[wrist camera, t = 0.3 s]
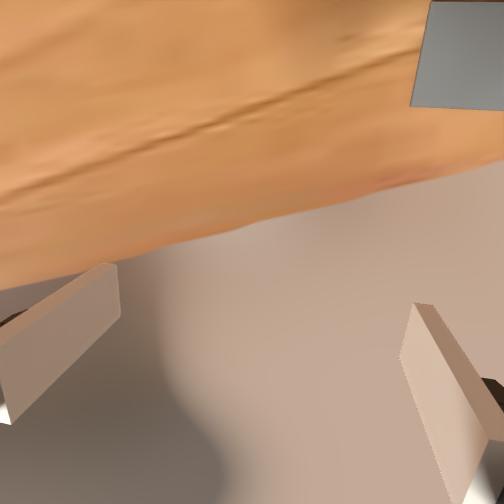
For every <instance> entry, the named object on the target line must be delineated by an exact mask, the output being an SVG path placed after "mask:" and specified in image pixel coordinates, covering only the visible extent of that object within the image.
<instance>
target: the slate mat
mask: <svg viewBox="0 0 504 504" xmlns="http://www.w3.org/2000/svg"><path fill="white" fill-rule="evenodd" d="M410 107H430V108H451V109H472V110H493V111H504V2H431V3H430V6H429V11H428V16H427V21H426V26H425V31H424V36H423V42H422V47H421V52H420V57H419V62H418V67H417V72H416V77H415V82H414V87H413V92H412V97H411V102H410Z"/></svg>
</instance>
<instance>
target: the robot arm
mask: <svg viewBox="0 0 504 504" xmlns="http://www.w3.org/2000/svg"><path fill="white" fill-rule="evenodd" d="M120 316H121V309H120V298H119V286H118V275H117V265H116V264H111V263H104V262H101V263H99V264H98V265H96V266H95V267H93V268H91V269H90V270H88V271H87V272H85V273H84V274H82V275H81V276H79V277H78V278H76V279H74V280H73V281H71V282H70V283H68V284H67V285H65V286H64V287H62V288H61V289H59V290H57V291H56V292H54V293H53V294H51V295H50V296H48V297H47V298H45V299H44V300H42V301H41V302H39V303H37V304H36V305H34V306H33V307H31V308H30V309H26V310H24V311H21V312H18V313H16V314H13V315H11V316H10V317H8V318H7V319H5V320H4V321H2V322H1V323H0V422H1V423H6V424H10V425H11V424H12V423H13V422H14V421H15V420H16V419H17V418H18V417H19V416H20V415H21V414H22V413H23V412H24V411H25V410H26V409H27V408H28V407H29V406H30V405H31V404H32V403H33V402H34V401H35V400H36V399H37V398H38V397H39V396H40V395H41V394H42V393H43V392H44V391H45V390H46V389H48V388H49V387H50V385H52V384H53V382H54V381H55V380H57V379H58V378H59V376H61V375H62V374H63V372H65V371H66V370H67V369H68V368H69V367H70V366H71V365H72V364H73V363H74V362H75V361H76V360H77V359H78V358H79V357H80V356H81V355H82V354H83V353H84V352H85V351H86V350H87V349H88V348H89V347H90V346H91V345H92V344H93V343H94V342H95V341H96V340H97V339H98V338H99V337H100V336H101V335H102V334H103V333H104V332H105V331H106V330H107V329H108V328H109V327H110V326H111V325H112V324H113V323H114V322H115V321H116V320H117V319H118V318H119V317H120ZM399 359H400V362H401V364H402V367H403V370H404V373H405V375H406V378H407V381H408V383H409V387H410V389H411V392H412V395H413V398H414V400H415V403H416V406H417V409H418V411H419V414H420V417H421V419H422V422H423V425H424V428H425V430H426V433H427V436H428V439H429V442H430V444H431V447H432V450H433V453H434V455H435V458H436V461H437V463H438V466H439V469H440V472H441V475H442V477H443V480H444V483H445V486H446V488H447V491H448V494H449V497H450V499H451V502H452V504H504V387H503V386H502V385H501V384H499V383H498V382H497V381H496V380H493V379H487V378H481V377H480V376H479V375H478V373H477V372H476V370H475V369H474V367H473V366H472V364H471V362H470V361H469V359H468V358H467V356H466V355H465V353H464V352H463V350H462V349H461V347H460V346H459V344H458V343H457V341H456V340H455V338H454V337H453V335H452V333H451V332H450V331H449V329H448V328H447V326H446V324H445V323H444V321H443V320H442V318H441V317H440V315H439V314H438V312H437V311H436V309H435V308H434V306H433V305H427V304H420V303H413V306H412V310H411V314H410V318H409V321H408V325H407V329H406V333H405V337H404V341H403V344H402V348H401V352H400V356H399Z"/></svg>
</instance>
